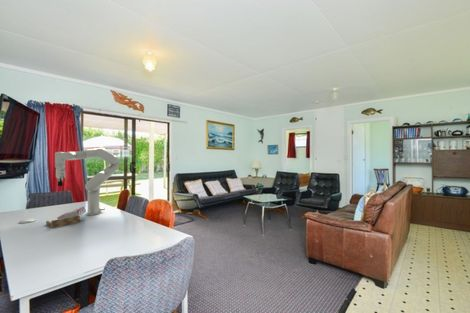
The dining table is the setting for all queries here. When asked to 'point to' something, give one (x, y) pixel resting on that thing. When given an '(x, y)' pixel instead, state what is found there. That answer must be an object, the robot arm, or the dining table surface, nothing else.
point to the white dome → (27, 220)
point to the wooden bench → (63, 221)
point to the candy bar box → (73, 213)
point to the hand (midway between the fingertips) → (60, 186)
